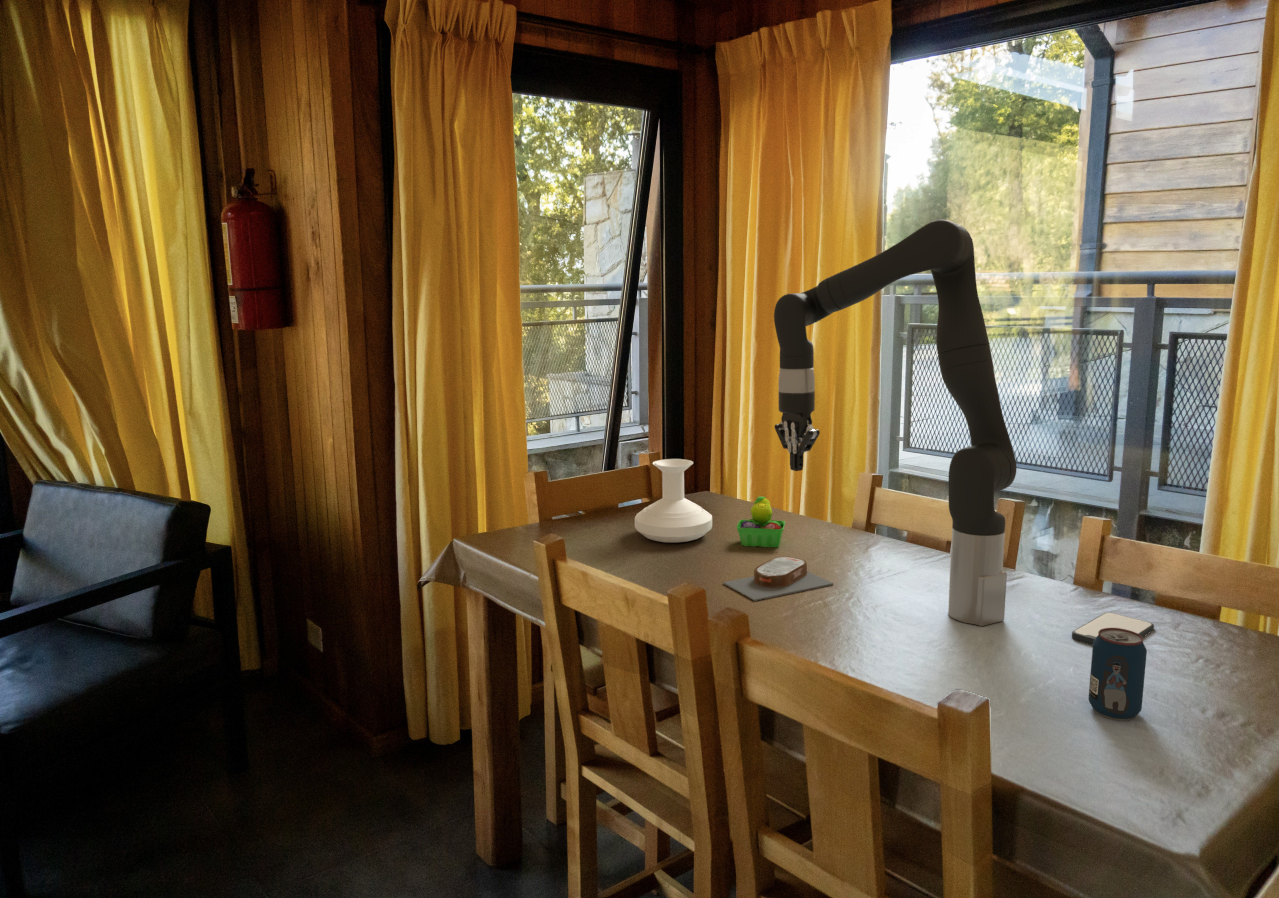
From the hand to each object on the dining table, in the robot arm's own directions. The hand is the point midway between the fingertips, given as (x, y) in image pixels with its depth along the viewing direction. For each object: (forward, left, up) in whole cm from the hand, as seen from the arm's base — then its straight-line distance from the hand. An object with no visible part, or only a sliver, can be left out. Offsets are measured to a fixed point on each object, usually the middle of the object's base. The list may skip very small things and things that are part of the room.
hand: (796, 470), depth 187 cm
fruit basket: (+25, -8, -24) cm, 35 cm away
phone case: (-53, -31, -25) cm, 66 cm away
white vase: (+41, +8, -24) cm, 48 cm away
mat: (-2, +6, -24) cm, 25 cm away
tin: (+4, +5, -22) cm, 23 cm away
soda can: (-72, -5, -24) cm, 76 cm away
